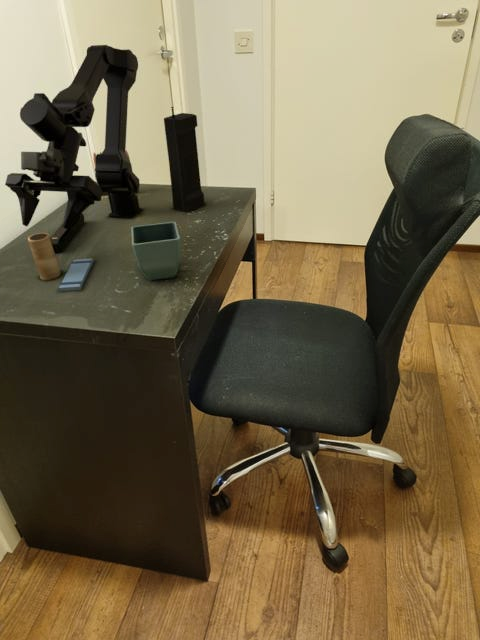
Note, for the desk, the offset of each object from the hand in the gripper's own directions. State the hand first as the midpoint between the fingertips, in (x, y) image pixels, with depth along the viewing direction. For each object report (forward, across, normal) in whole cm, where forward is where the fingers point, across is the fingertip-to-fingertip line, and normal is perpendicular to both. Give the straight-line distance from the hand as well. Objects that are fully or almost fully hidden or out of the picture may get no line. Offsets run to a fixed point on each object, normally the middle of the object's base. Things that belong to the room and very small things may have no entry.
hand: (44, 226), depth 93 cm
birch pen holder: (+8, 0, +5) cm, 10 cm away
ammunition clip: (-26, -10, +39) cm, 48 cm away
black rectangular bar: (-4, -7, +18) cm, 20 cm away
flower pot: (+5, +23, +8) cm, 25 cm away
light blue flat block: (+8, +6, +6) cm, 11 cm away
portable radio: (-21, +15, +34) cm, 43 cm away
